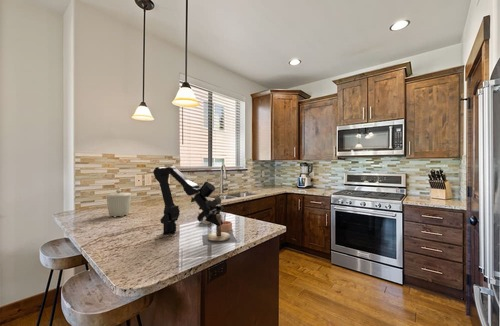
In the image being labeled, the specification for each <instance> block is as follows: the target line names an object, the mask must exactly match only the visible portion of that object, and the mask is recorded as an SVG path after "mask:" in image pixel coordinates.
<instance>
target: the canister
mask: <svg viewBox="0 0 500 326" xmlns="http://www.w3.org/2000/svg"><path fill="white" fill-rule="evenodd" d="M115 191H116V192H111V193H108V194H106V195H105V196H104V197H105V198H106V203H107V211H108V212H107V213H108V215H109V216H110V217H111V216H122V217H125V216H124V215H126V216H128V215H127V214H129V213H130V208H131V199H132V195H133V193H130V192H122V189H116V190H115Z"/></svg>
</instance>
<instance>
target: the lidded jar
mask: <svg viewBox="0 0 500 326" xmlns="http://www.w3.org/2000/svg"><path fill="white" fill-rule="evenodd" d="M201 212H202V209H201V210H199V211H198V212H197V216H198V215H199V214H200V213H201ZM205 220H206V217H204V218H203V221H201V222H200V223H201V224H203V225H208V224H211V223H210V222H208V221H205Z"/></svg>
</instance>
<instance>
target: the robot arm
mask: <svg viewBox="0 0 500 326" xmlns="http://www.w3.org/2000/svg"><path fill="white" fill-rule="evenodd" d="M152 172H153V176H154V178H155V180H156V181H157V182H158V183H159V188H160V191H161V192H160V193H161V196H162V200H163V203H164V208H163V215H162V217H161V218H160V224H162V225H163V227H162V228H163V233H162V235H168V234H169V235H170V234H175V233H176V232H177V223H176V221H177V222H178V219H179V217H180V212H181V210H180V209H179V205H178V204H177V205H176V204H175V203H174V200H173V195H172V192H171V186H170V183H169V178H170V175H171V177H172V178H174V179H175V180H176V181H177V182H178V184H179V185H181V186H182V188H183V191H184V192H185V194H186V195H187V196H189V197H190V196H191V199H190V203H194V202H195V203H196V205H198V210H199V211H201V210H202V212H201V213H200V214H199V215H198V214H197V216H196V217H197V221H198V222H199V223H201V221H203V218H204V217H206V220H205V221H208V222H210V223H209V224H213V225H215V226H216V225H217V226H220V223H219V222H218V220H217V219H216V215H217V214H221V211H222V210H223V209H224V206H223V205H222V198H221V197H219V196H216V197H215V198H214V199H212V200H209V199H208V198H209V197H210V196H211V195H212V194H213V192H215V190H216V187H215V185H214V184H212V183H210V182H208V181H204V182H203V184H202V185H201V186H200V185H199V184H197V183H196V182H193V181H191V180H190V179H188V177H186V176H185V175H184V174H183V173H182V172H181V171H180V170H178V168H177V167H176V166H167V167H166V166H164V167H163V166H161V167H160V166H157V167H155V168H154V170H153V171H152ZM222 221H223V220H222V218H221V225H222V224H223V222H222Z"/></svg>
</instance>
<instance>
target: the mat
mask: <svg viewBox="0 0 500 326" xmlns="http://www.w3.org/2000/svg"><path fill="white" fill-rule="evenodd" d="M227 233H228V234H230V238H229V239H227V240H224V241H211V240H208V235H209V234H202V236H201V238H202V246H211V245H213V246H214V245H222V244H232V243H238V241H237V238H236V237H235V235H234V233H233V232H227Z"/></svg>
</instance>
